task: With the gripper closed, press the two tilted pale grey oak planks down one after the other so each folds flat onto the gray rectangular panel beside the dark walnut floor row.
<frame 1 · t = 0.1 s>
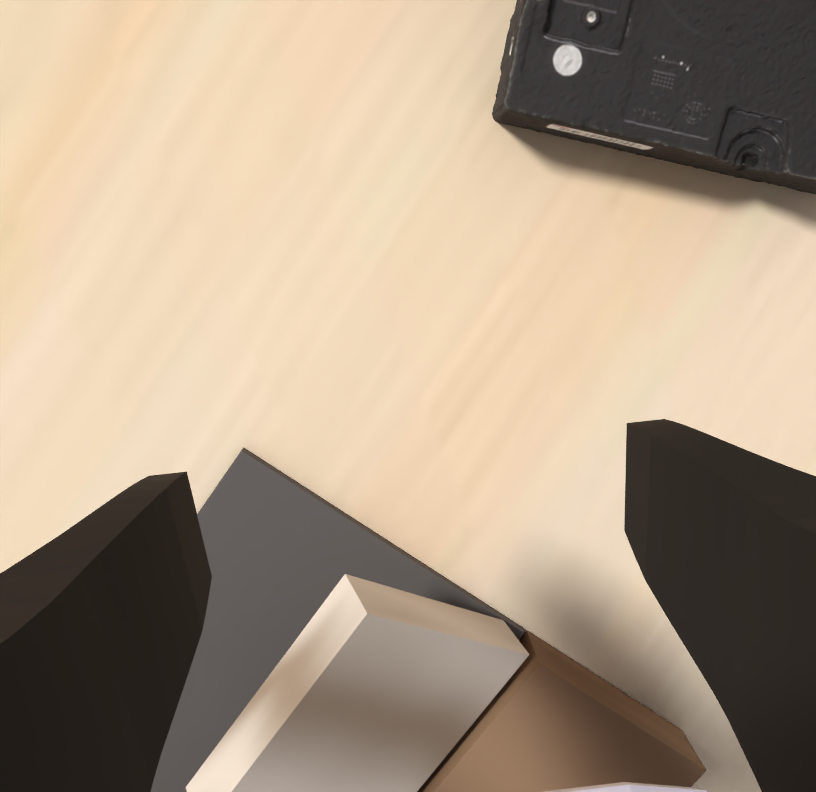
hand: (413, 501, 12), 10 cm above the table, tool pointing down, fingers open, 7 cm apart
gray rectangular panel: (248, 727, 24), on the table
plank b: (365, 717, 21), point 3 cm above the table, hinge at 30.0°
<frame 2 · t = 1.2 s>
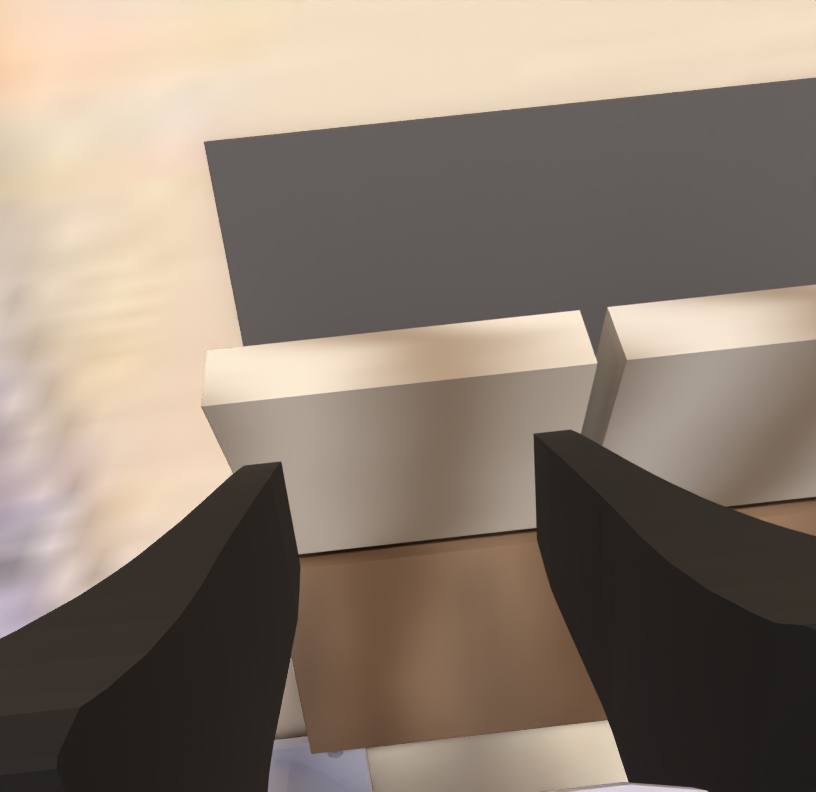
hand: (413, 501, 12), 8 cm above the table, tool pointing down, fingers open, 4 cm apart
gray rectangular panel: (551, 322, 20), on the table
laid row: (557, 596, 23), on the table
plank a: (406, 449, 18), point 3 cm above the table, hinge at 30.0°
plank b: (752, 411, 18), point 3 cm above the table, hinge at 30.0°
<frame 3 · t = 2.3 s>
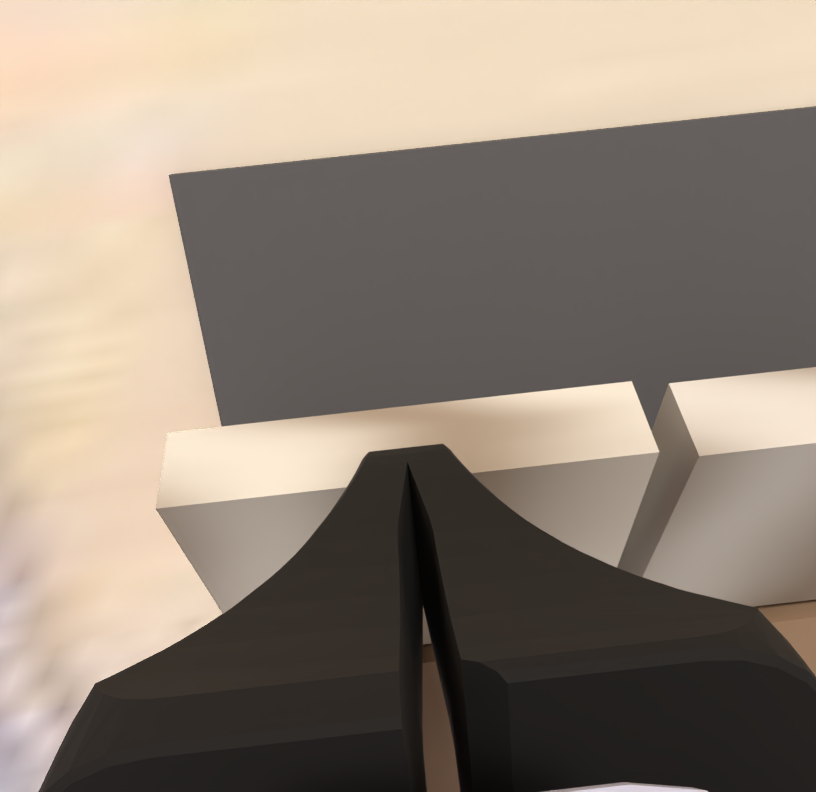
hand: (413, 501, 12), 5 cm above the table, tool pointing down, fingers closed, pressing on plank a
gray rectangular panel: (586, 385, 16), on the table
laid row: (588, 694, 20), on the table
plank a: (415, 543, 14), point 3 cm above the table, hinge at 28.8°, touching gripper
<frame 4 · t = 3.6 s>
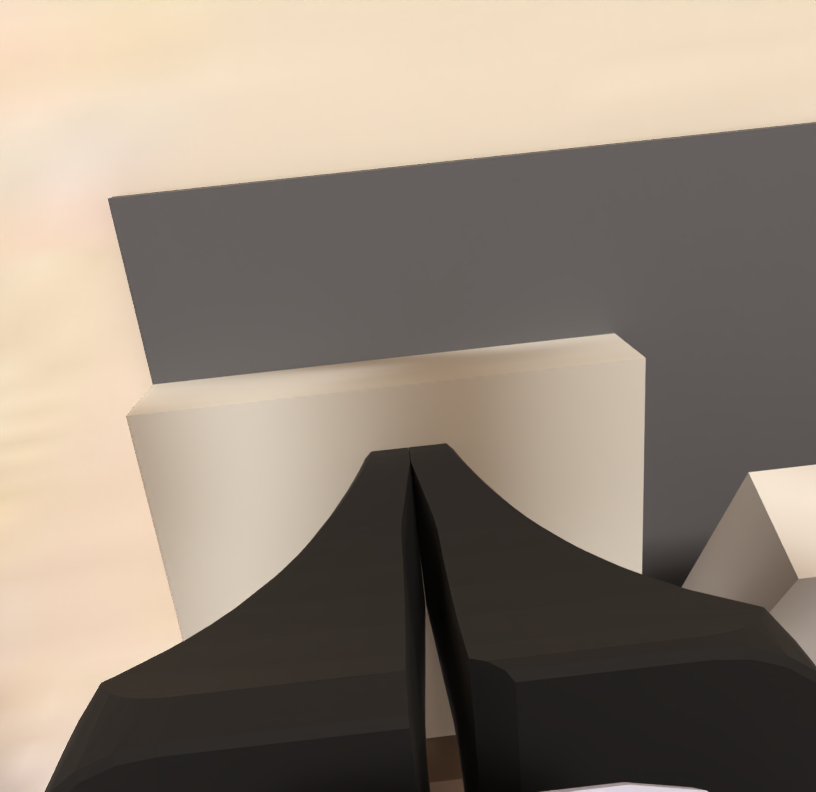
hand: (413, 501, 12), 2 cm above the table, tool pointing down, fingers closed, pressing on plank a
gray rectangular panel: (624, 448, 14), on the table
plank a: (407, 555, 13), point 1 cm above the table, hinge at -1.1°, touching gripper, gray rectangular panel
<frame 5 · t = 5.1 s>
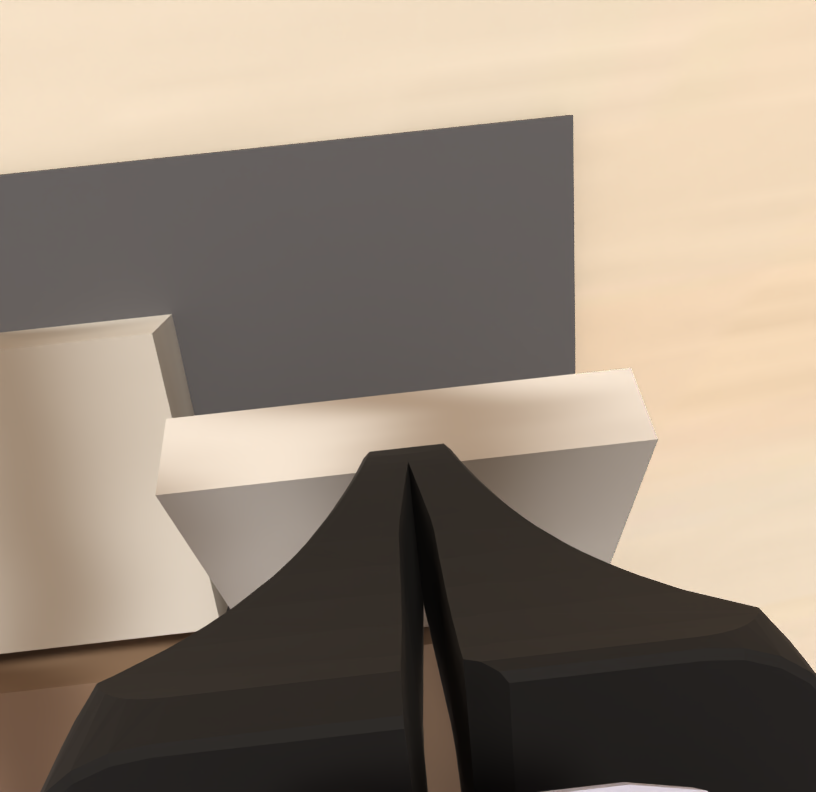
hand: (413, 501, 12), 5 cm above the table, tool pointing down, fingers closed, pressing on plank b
gray rectangular panel: (211, 410, 16), on the table
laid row: (277, 713, 20), on the table
plank a: (15, 497, 16), point 1 cm above the table, hinge at -0.9°, touching gray rectangular panel
plank b: (414, 528, 15), point 3 cm above the table, hinge at 29.8°, touching gripper
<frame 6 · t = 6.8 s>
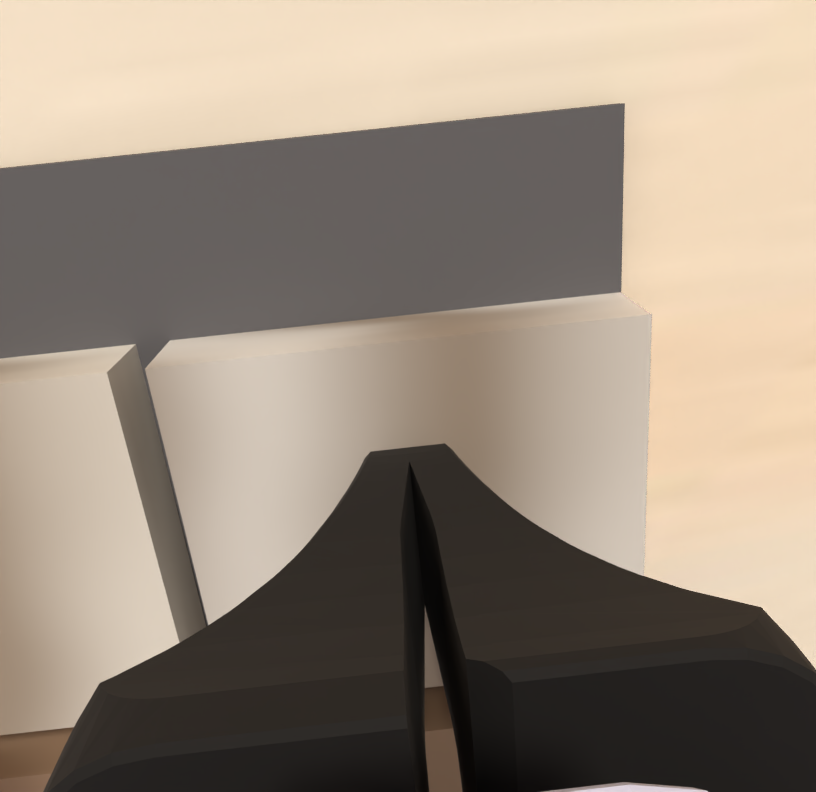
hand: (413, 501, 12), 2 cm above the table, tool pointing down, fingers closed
gray rectangular panel: (186, 455, 14), on the table
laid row: (267, 791, 17), on the table
plank b: (416, 509, 13), point 1 cm above the table, hinge at -0.8°, touching gray rectangular panel
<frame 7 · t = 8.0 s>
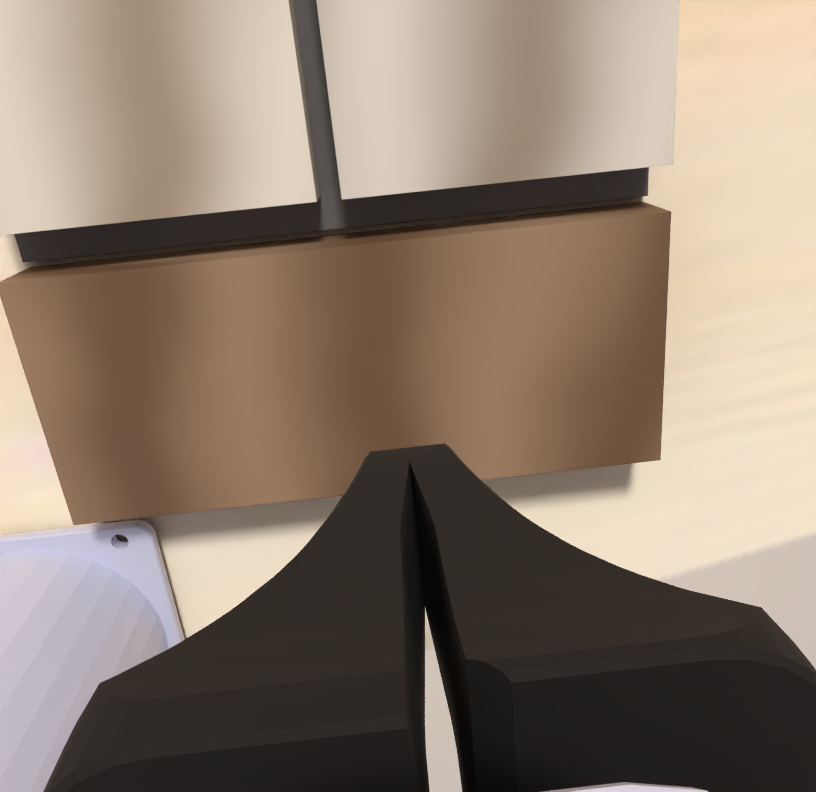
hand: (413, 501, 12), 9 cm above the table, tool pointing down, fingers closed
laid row: (354, 355, 21), on the table
plank a: (123, 60, 16), point 1 cm above the table, hinge at -0.9°, touching gray rectangular panel
plank b: (495, 22, 17), point 1 cm above the table, hinge at -0.5°
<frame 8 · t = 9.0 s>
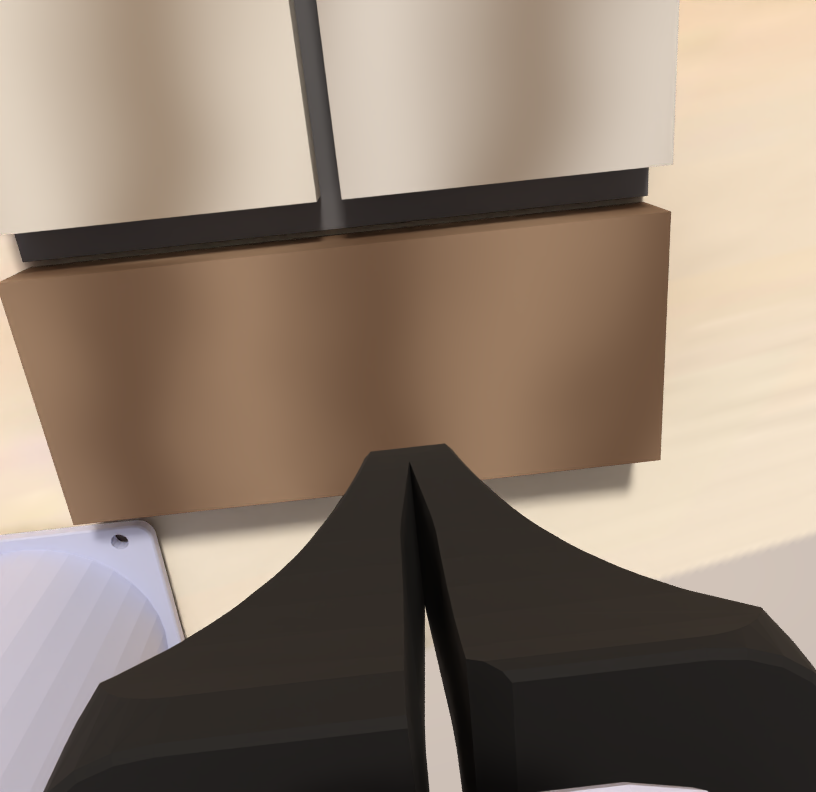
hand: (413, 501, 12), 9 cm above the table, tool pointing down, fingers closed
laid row: (354, 355, 21), on the table
plank a: (123, 60, 16), point 1 cm above the table, hinge at -0.9°, touching gray rectangular panel
plank b: (495, 22, 17), point 1 cm above the table, hinge at -0.5°
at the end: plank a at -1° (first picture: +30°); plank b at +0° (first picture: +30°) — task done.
